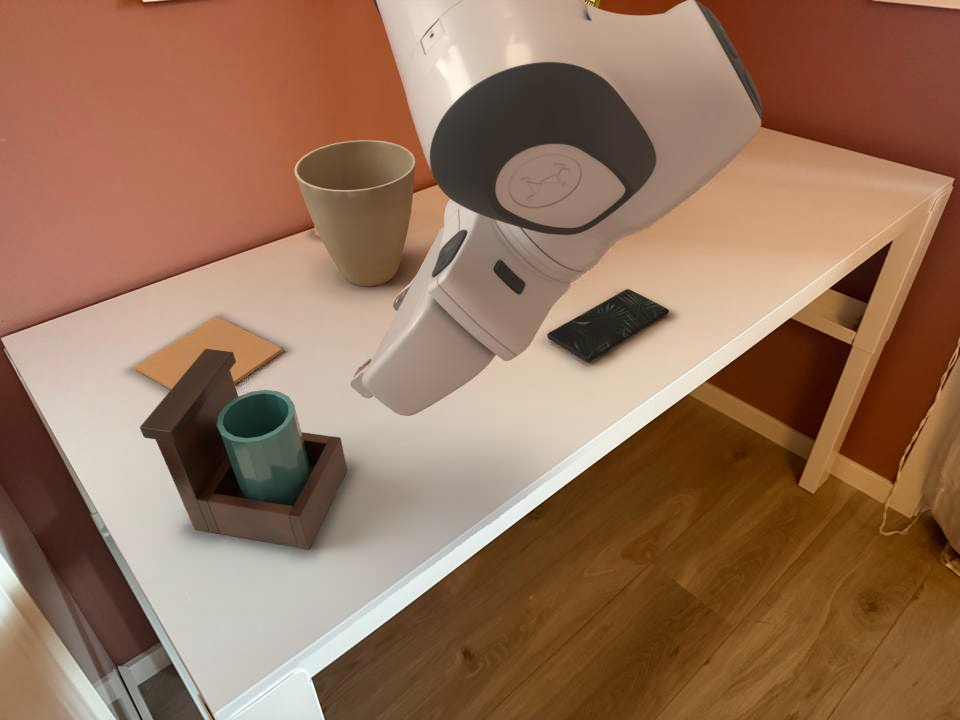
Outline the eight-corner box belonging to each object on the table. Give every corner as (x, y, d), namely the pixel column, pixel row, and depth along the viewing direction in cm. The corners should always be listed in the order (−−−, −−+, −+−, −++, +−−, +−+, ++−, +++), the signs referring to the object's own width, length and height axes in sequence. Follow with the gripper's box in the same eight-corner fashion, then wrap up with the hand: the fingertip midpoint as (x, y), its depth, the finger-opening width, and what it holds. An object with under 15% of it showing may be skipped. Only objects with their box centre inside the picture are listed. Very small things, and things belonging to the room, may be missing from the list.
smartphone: (670, 309, 89) (588, 359, 81) (669, 316, 89) (588, 366, 82) (627, 287, 93) (545, 333, 85) (626, 293, 93) (545, 339, 86)
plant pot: (293, 280, 98) (268, 170, 88) (369, 235, 107) (355, 131, 97) (372, 316, 91) (355, 201, 81) (446, 265, 100) (439, 156, 90)
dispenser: (348, 466, 71) (327, 363, 62) (307, 553, 63) (276, 447, 55) (239, 450, 73) (205, 348, 65) (185, 532, 65) (138, 427, 57)
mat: (201, 408, 78) (199, 405, 78) (135, 370, 83) (133, 366, 83) (283, 351, 86) (282, 348, 85) (217, 319, 91) (216, 316, 91)
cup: (279, 538, 64) (252, 452, 57) (232, 507, 67) (200, 422, 60) (330, 492, 68) (309, 407, 61) (283, 465, 71) (259, 380, 64)
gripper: (509, 136, 52) (393, 244, 60) (435, 292, 36) (292, 409, 44) (567, 198, 54) (448, 294, 62) (521, 370, 38) (370, 469, 46)
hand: (382, 344), depth 53 cm, fingers open, 8 cm apart
